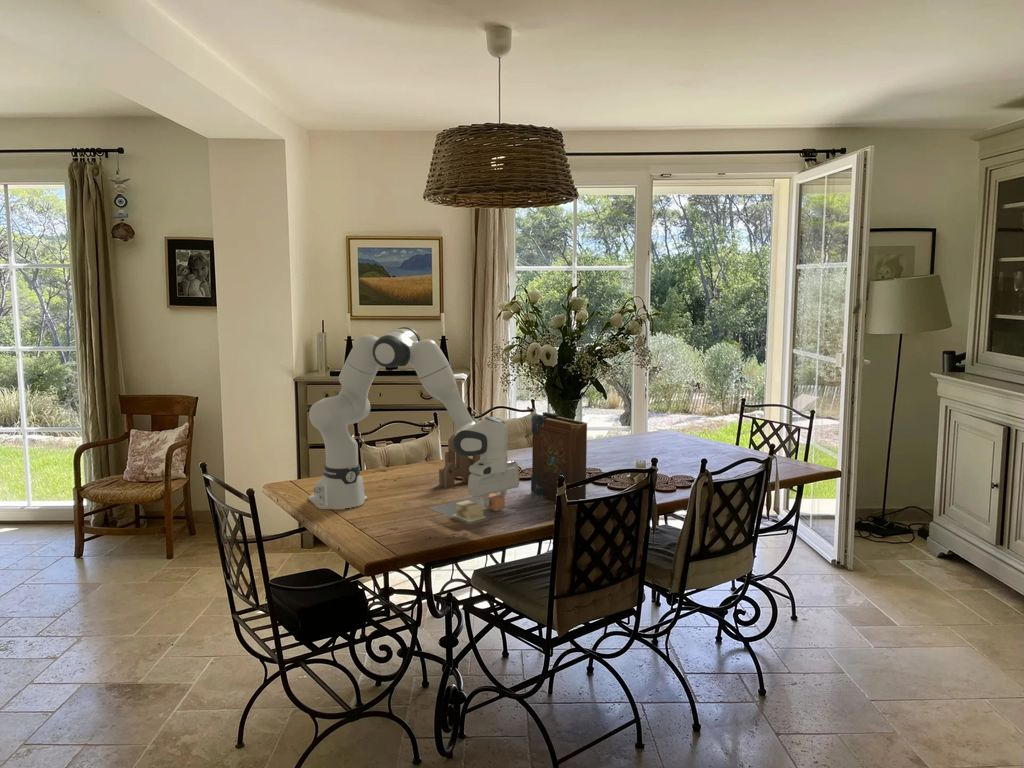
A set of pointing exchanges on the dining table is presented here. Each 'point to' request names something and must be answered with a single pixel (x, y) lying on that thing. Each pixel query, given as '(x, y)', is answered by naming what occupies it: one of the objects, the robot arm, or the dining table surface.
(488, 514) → the build board
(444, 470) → the wooden toy
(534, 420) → the decorative book
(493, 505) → the brick top
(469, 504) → the brick base
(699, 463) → the dining table surface
